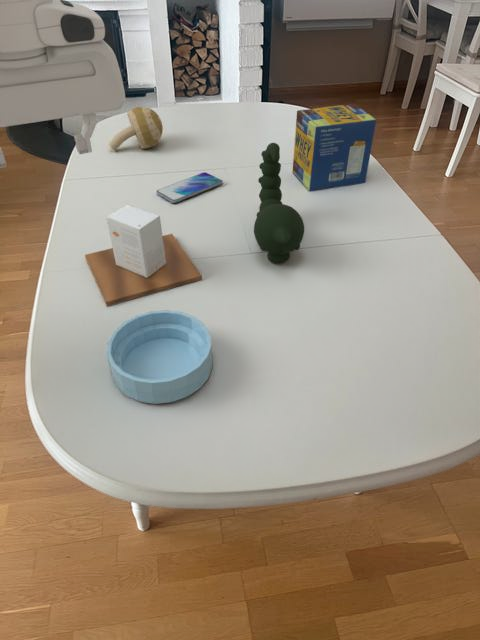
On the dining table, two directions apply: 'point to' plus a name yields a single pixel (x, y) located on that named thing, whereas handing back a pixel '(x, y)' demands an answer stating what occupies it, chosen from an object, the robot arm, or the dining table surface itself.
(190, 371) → the bowl
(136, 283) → the brown wooden board
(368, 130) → the protein box
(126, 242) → the small box
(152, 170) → the dining table surface
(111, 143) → the mushroom
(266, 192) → the toy figurine
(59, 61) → the robot arm
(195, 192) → the smartphone
